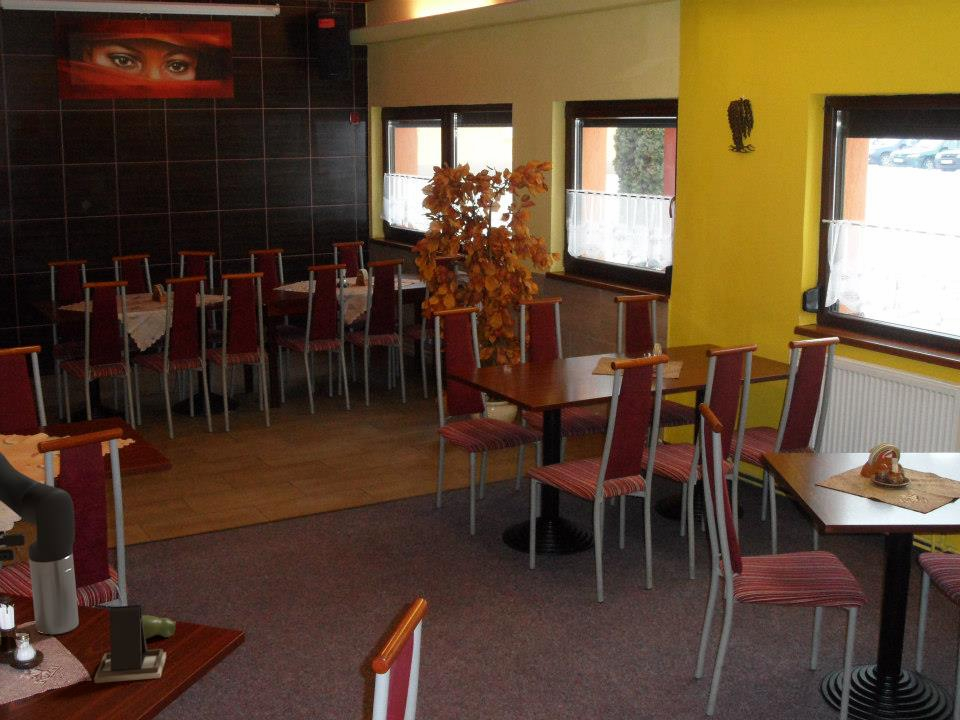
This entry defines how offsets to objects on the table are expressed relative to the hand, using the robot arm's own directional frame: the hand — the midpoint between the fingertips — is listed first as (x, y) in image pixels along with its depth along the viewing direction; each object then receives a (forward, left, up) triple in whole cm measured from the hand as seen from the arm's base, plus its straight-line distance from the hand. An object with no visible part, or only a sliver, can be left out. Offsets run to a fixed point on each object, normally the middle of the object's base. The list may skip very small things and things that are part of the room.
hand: (19, 546), depth 229 cm
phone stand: (+1, +20, -26) cm, 33 cm away
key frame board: (+1, +20, -28) cm, 34 cm away
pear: (-15, +23, -28) cm, 39 cm away
